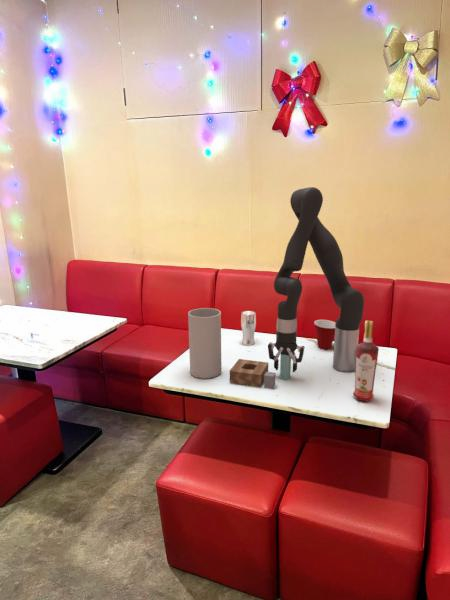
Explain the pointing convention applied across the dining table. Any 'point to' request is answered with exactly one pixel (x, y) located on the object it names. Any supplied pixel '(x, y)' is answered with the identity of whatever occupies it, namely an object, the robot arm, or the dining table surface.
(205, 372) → the cylinder vase
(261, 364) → the socket block
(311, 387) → the dining table surface
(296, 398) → the dining table surface
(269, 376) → the short pin
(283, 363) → the long pin
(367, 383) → the liquor
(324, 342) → the plastic cup
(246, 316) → the beer glass
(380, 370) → the dining table surface
